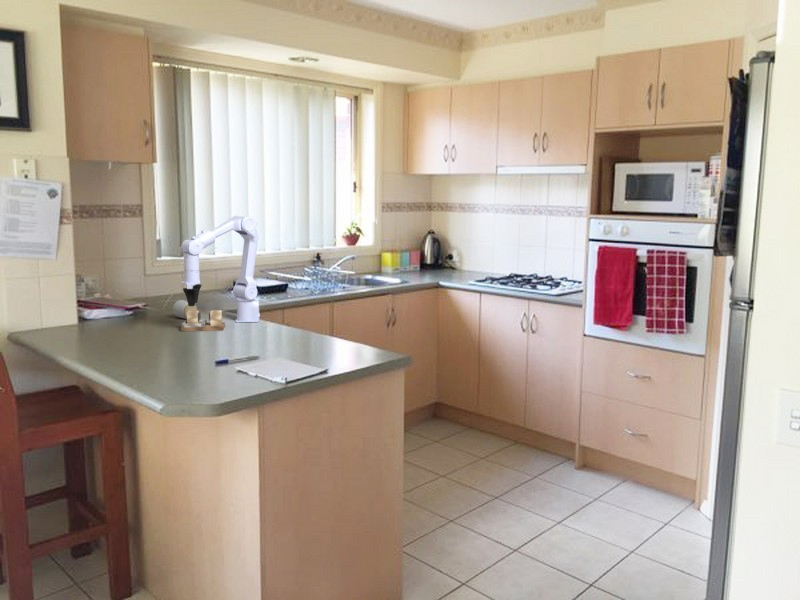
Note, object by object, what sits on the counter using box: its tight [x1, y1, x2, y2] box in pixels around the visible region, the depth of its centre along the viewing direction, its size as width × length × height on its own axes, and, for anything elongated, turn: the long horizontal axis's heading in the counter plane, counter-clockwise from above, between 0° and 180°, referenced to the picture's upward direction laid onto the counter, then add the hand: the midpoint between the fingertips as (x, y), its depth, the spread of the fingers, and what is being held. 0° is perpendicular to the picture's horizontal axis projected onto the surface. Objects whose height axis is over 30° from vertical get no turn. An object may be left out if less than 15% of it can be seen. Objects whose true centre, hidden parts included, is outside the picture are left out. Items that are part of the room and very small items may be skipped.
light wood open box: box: [180, 309, 226, 332], centre depth 271 cm, size 16×9×7 cm, turn 99°
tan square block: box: [186, 309, 201, 324], centre depth 271 cm, size 5×4×6 cm
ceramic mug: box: [172, 299, 201, 320], centre depth 292 cm, size 11×8×8 cm
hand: (193, 304), depth 270 cm, fingers open, 7 cm apart
